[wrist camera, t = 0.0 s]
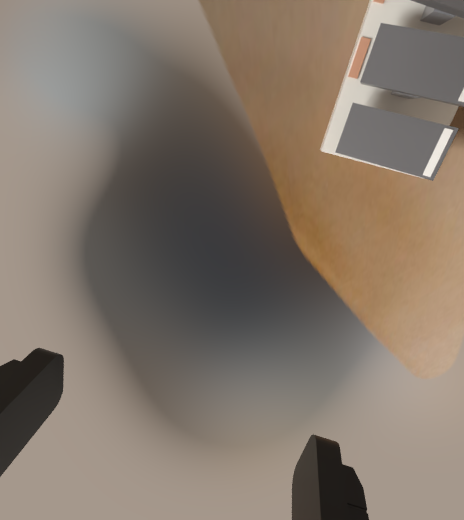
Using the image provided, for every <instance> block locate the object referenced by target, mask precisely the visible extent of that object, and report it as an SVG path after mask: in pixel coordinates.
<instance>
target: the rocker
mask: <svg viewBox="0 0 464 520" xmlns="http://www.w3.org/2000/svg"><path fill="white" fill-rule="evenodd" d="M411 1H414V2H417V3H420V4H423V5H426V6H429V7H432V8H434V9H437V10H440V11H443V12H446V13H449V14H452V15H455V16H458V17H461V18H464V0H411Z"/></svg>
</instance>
